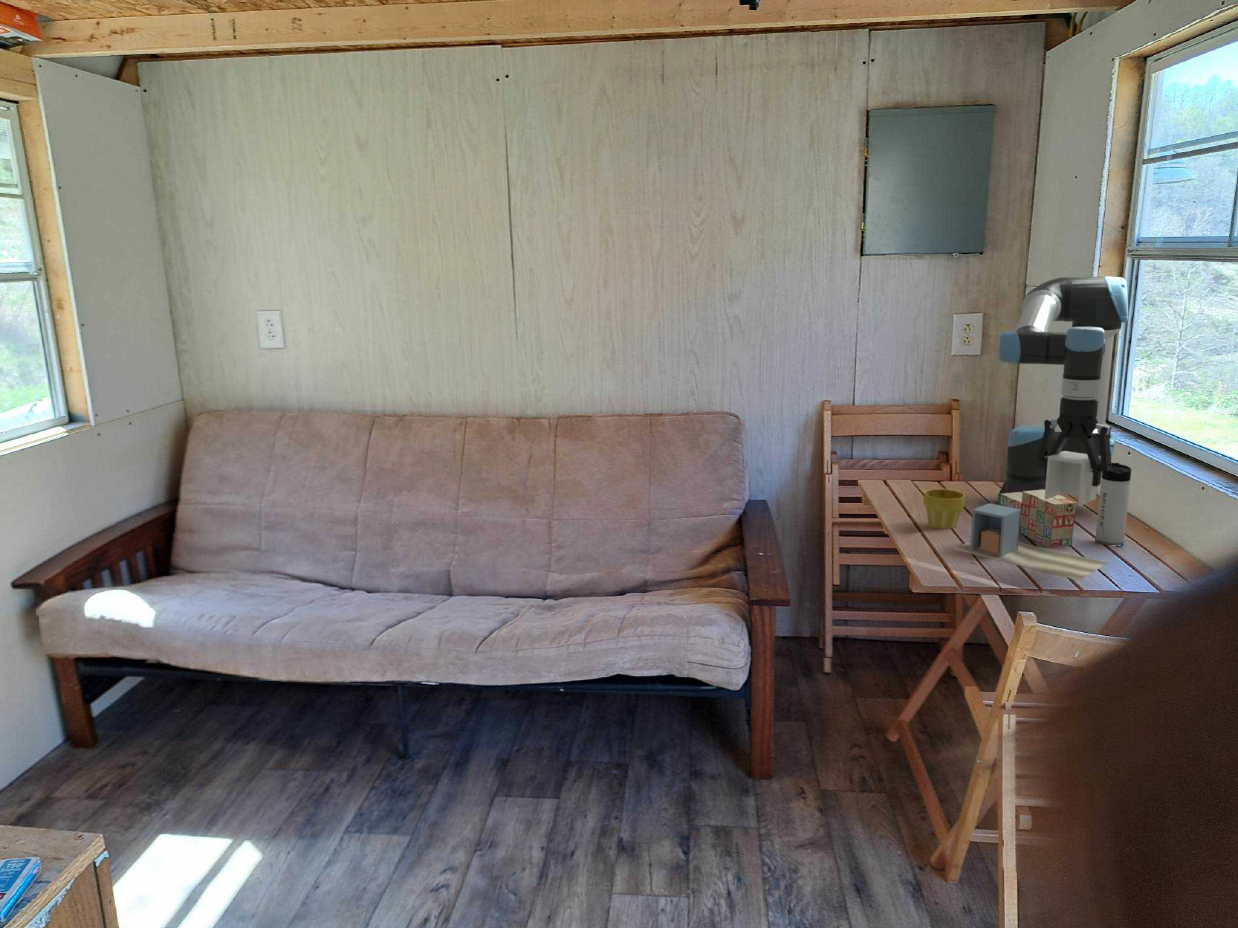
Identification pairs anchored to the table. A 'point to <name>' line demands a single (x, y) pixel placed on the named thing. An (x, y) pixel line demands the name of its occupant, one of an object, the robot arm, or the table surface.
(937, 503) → the plant pot
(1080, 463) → the box
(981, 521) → the hollow pale blue box
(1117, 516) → the travel mug
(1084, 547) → the table surface
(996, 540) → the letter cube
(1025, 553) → the birch board
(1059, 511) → the stack of blocks
